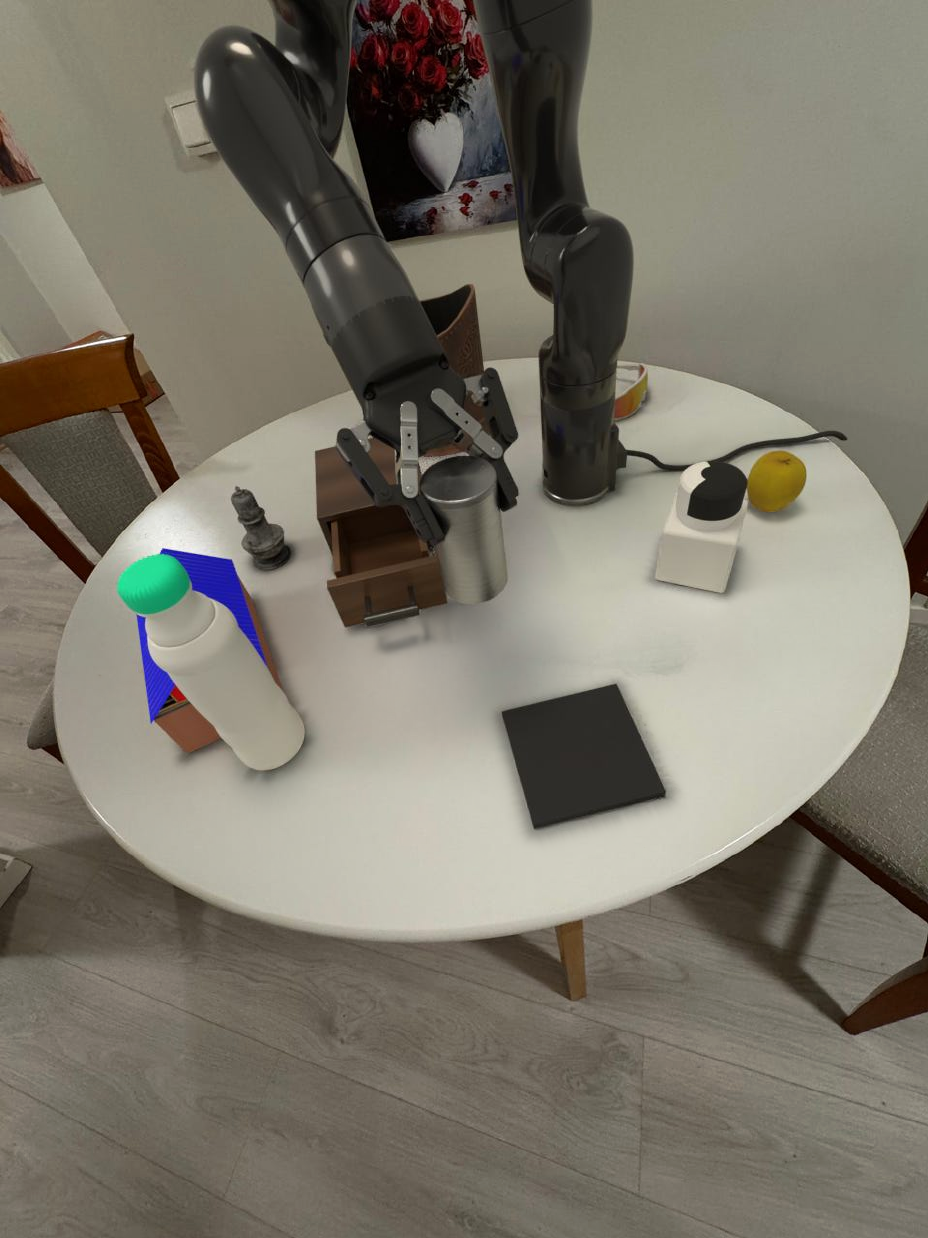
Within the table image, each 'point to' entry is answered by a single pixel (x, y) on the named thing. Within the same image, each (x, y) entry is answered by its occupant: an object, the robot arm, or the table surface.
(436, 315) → the brown embossed pitcher
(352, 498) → the cabinet
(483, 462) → the metal canister
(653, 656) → the table surface
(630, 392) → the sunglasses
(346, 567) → the drawer
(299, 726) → the water bottle
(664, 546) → the container
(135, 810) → the table surface
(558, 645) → the table surface
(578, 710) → the coaster mat
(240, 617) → the house
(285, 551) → the stone chess piece
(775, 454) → the apple
